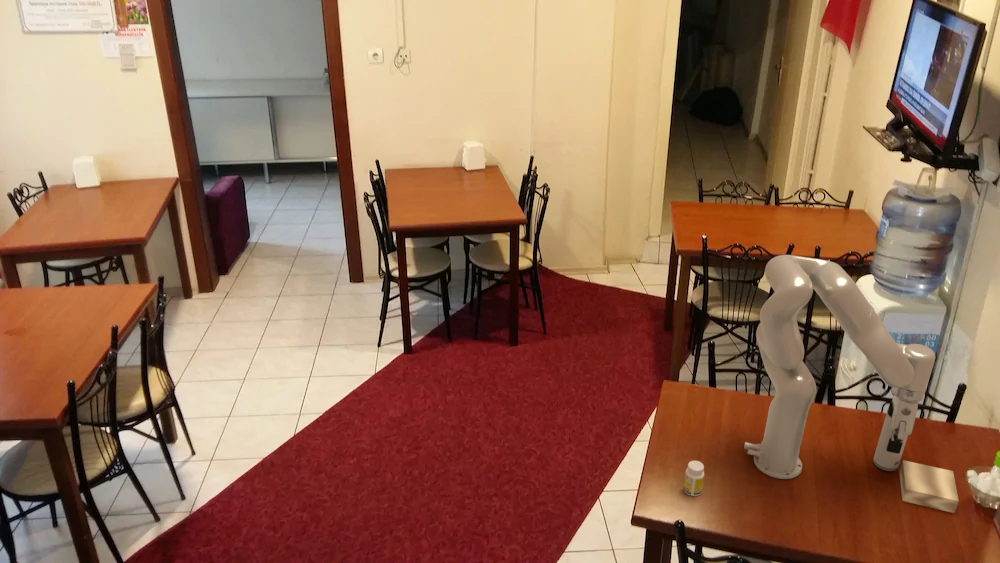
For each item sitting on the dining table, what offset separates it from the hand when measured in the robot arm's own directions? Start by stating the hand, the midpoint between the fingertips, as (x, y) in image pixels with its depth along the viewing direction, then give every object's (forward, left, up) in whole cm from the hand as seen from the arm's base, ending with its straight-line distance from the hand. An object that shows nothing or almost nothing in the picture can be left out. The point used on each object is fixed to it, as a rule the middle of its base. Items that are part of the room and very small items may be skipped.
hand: (892, 443), depth 206 cm
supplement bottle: (-48, -30, -7) cm, 57 cm away
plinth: (+9, -8, -7) cm, 14 cm away
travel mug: (0, 0, -7) cm, 7 cm away
